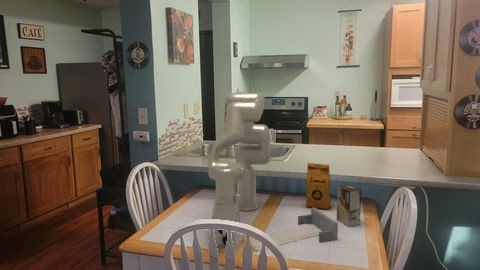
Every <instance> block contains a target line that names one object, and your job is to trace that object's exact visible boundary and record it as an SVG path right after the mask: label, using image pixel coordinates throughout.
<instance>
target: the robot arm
mask: <svg viewBox="0 0 480 270" xmlns="http://www.w3.org/2000/svg"><path fill="white" fill-rule="evenodd" d="M225 103H226V109H225V117H224V118H225V119H224V128H223V135H222V137H221V138H220V139H219V140H218V141H217V142H216V143H215V145H214V146H213V148H211V151H210V154H209V159H208V168H207V169H208V170H207V172H208V177H209V178H210V180H213V181H215V201H214V202H213V205H212V214H211V217H212V218H211V220H212V219H220V220H229V221H234V222H239V223H240V224H241V217H240V216H241V215H240V211H242V212H248V211H249V212H250V211H255V210H257V209H259V207H260V204H259V202H258V201H257V172H256V170H255V168H254V166H253V165H255V166H257V165H259V166H261V165H262V166H265V165H268V164H270V160H271V136H270V129H269V127H268V126H267V125H266V124H260V123H259V124H256V123H257V122H259V121H260V119H261V118H262V115H263V112H264V109H265V105H266V98H265V96H264V95H263V94H262V93H260V92H232V93H228V94H227V95H226V98H225ZM236 144H237V146H236V147H235V148H234V160H235V161H223V160H222V161H221V160H219V161H218V159H219V156H220V155H221V153H222V152H223V151H224V150H227V149H228V148H229V147H232V146H234V145H236ZM238 144H240V145H238ZM213 233H217V234H218V233H219V234H220V235H221V237H222V239H221V240H222V244H223V245H224V246H225V245H226V241H227V231H226V229H225V230H218V229H214V232H213ZM231 233H232V234H233V233H234V232H231Z"/></svg>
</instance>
